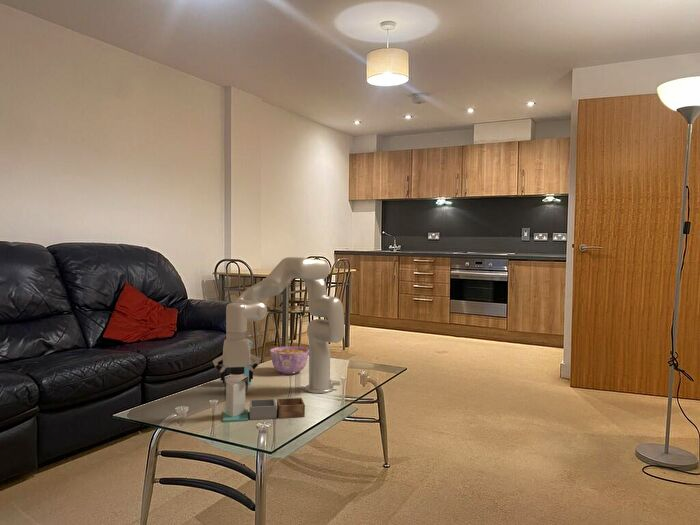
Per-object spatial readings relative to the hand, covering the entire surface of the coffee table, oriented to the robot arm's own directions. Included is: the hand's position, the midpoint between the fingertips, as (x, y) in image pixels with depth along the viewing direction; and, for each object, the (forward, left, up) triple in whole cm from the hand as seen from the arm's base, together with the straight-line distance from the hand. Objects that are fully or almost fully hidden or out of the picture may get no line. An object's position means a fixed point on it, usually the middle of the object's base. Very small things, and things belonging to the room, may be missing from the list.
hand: (236, 381), depth 194 cm
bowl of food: (-26, -67, -13) cm, 73 cm away
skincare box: (0, 0, -13) cm, 13 cm away
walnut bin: (-20, 0, -13) cm, 24 cm away
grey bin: (-10, 0, -13) cm, 16 cm away
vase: (-2, -47, -13) cm, 49 cm away
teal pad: (0, 0, -13) cm, 13 cm away
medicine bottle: (0, -32, -13) cm, 34 cm away
